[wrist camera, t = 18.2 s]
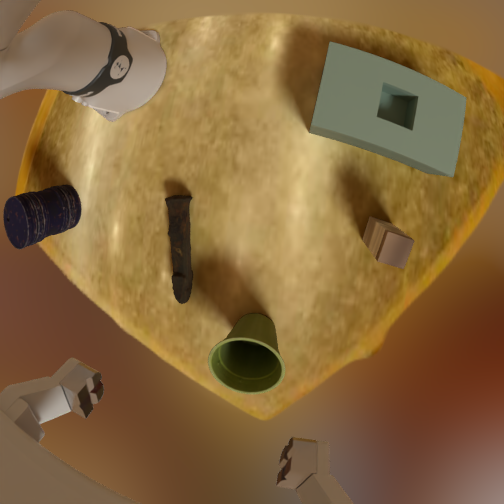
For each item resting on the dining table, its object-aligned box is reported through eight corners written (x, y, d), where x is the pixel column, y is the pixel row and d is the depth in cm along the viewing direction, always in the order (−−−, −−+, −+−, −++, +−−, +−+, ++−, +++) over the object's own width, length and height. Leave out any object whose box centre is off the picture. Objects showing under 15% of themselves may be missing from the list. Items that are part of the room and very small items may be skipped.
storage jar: (83, 188, 48) (28, 201, 34) (80, 234, 51) (30, 256, 37) (54, 180, 49) (3, 192, 35) (52, 222, 52) (4, 241, 38)
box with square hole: (309, 132, 39) (311, 124, 30) (324, 63, 35) (329, 41, 26) (426, 173, 37) (453, 177, 29) (439, 106, 33) (466, 97, 24)
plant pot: (249, 362, 53) (238, 402, 43) (213, 318, 51) (192, 354, 41) (301, 338, 50) (299, 380, 39) (265, 289, 48) (255, 325, 37)
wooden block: (362, 239, 42) (377, 261, 33) (369, 216, 41) (388, 231, 32) (384, 246, 42) (403, 269, 33) (391, 223, 41) (414, 240, 31)
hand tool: (172, 193, 46) (160, 197, 41) (194, 194, 45) (183, 198, 41) (176, 294, 52) (165, 306, 47) (195, 298, 51) (186, 310, 47)
